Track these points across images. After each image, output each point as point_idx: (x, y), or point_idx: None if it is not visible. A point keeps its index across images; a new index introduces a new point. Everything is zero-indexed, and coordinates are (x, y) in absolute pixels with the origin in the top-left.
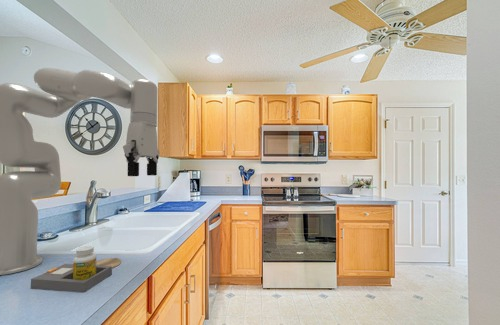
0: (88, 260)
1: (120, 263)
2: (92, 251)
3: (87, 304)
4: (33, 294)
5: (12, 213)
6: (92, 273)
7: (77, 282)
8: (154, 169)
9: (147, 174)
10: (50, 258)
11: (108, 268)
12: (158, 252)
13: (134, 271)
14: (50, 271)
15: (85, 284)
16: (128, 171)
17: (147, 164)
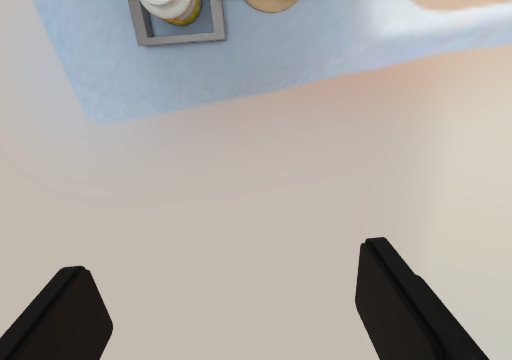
0: (155, 15)
1: (287, 7)
2: (166, 6)
3: (120, 94)
4: None
5: None
6: (176, 23)
7: (134, 26)
8: (377, 348)
9: (361, 249)
10: None
11: (213, 39)
12: (375, 67)
13: (253, 85)
14: None
15: (144, 45)
16: (39, 304)
17: (426, 349)
